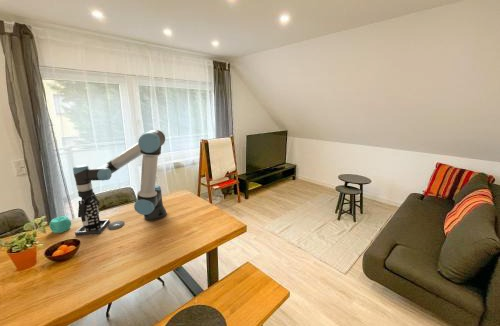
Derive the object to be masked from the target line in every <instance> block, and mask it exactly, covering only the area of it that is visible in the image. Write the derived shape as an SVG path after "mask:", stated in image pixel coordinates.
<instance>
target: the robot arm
mask: <svg viewBox="0 0 500 326" xmlns="http://www.w3.org/2000/svg"><path fill="white" fill-rule="evenodd" d="M165 141H166V136H165V133H164V132H163V131H161V130H160V129H151V130H149V131H145V132H144V133H142V134H140V136H139V138H138V141H137V143H135V144H134V145H133V146H131V147H130V148H128V149H126V150H125V151H123V152H122V153H120V154H119V155H117V156H116V157H114V158H113V159H111V160H109V161H108V162H106V163H105V164H103V165H101V166H99V167H96V168H89V166H88V164H79V165H75V166H73V168H72V171H73V172H72V173H73V177H74V181H75V186H76V190H77V194H78V195H77V196H78V197H79V198H81V200H78V209H77V211H78V213H77V218H81V223H82V225H83V226H86V225H89V224H88V220H87V215H86V210H87V205H88V203H89V201H90V200H93V199H96V204H97V209H98V214H99V215H100V211H99V206H100V201H99V198H98V197H97V196H96V193H95V192H94V189H93V185H92V184H93V183H92V181H109V180H110V179H111V177H112V174H114V173H116V172H117V171H119V170H120V169H122V168H123V167H125V166H126V165H128V164H129V163H130V162H132V161H134V160H136V159H137V158H139V157H140V156H142V159H141V176H140V188H139V190H138V191H137V194H136V195H137V196H136V201H135V203H134V205H133V209H134V210H135V212H137V214H139V215H141V216H142V215H143V218H144V220H145V221H151V222H153V221H158V220H161V219H163V218H164V217H166V215H167V210H166V207H165V205H164V204H163V196H162V195H163V194H162V187H161V186H160V185H158V184H156V180H157V171H158V157H159V156H160V155H161V153H162V146H163V145H164V144H165ZM84 203H87V205H84ZM85 215H86V216H85Z"/></svg>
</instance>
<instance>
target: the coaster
mask: <svg viewBox="0 0 500 326" xmlns="http://www.w3.org/2000/svg"><path fill="white" fill-rule="evenodd" d="M125 225H126V224H125V221H123V220H116V221H113V222H110V223H109V224H108V225H107V226H106V228H107V229H108V230H109V231H110V230H112V231H113V230H114V231H115V230H118V229H120V228H123V226H125Z"/></svg>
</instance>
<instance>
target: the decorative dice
mask: <svg viewBox="0 0 500 326" xmlns="http://www.w3.org/2000/svg"><path fill="white" fill-rule="evenodd" d="M48 227H49V229H50V230H51V232H53V234H62V233H64V231H65V232H66V231H67V232H68V230H70V228H71V227H72V221H71V219H70V218H69V217H68V216H66V215H65V216H64V215H61V216H57V217H54V218H52V219H51V220H50V222H49V226H48ZM61 232H62V233H61Z"/></svg>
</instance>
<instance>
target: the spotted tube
mask: <svg viewBox="0 0 500 326" xmlns="http://www.w3.org/2000/svg"><path fill="white" fill-rule="evenodd" d="M84 205H87V203H84ZM98 210H99V208H98V209H97V204H96V199H93V200H90V201H89V203H88V205H87V210H86V215H87V220H88V224H89V225H86V226H85V229H84V230H85V231H90V230H99V229H100V227H101V226H102V224H101V223H100V220H101V219H100V213H99V214H98ZM86 215H85V216H86Z"/></svg>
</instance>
